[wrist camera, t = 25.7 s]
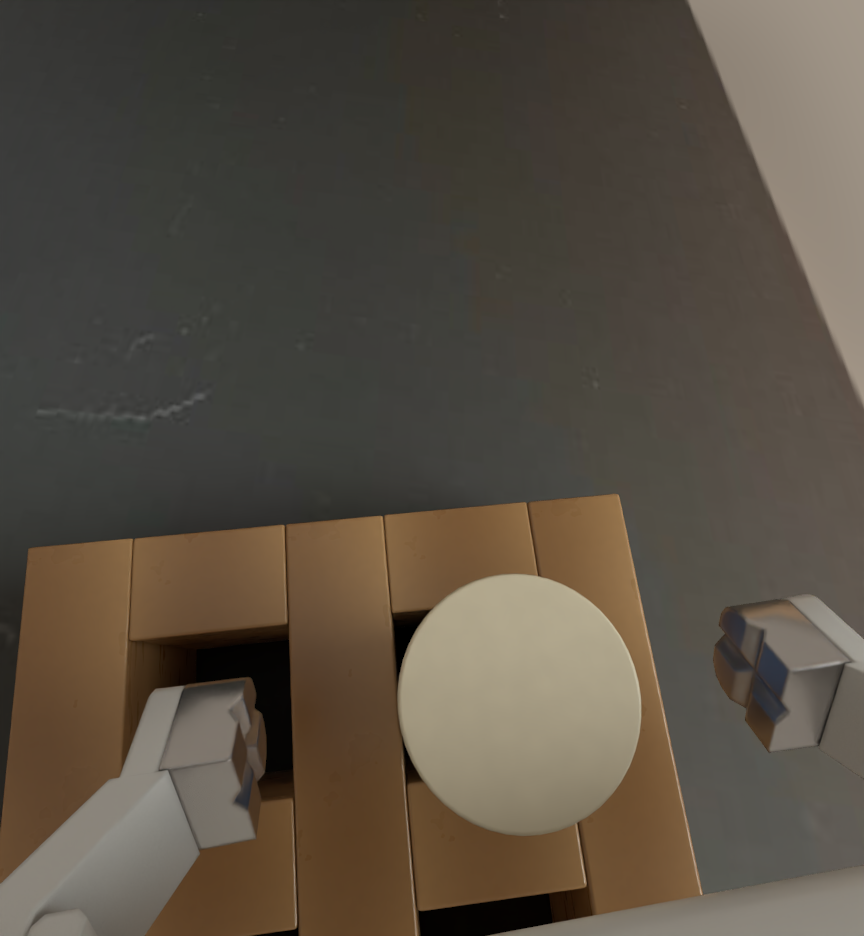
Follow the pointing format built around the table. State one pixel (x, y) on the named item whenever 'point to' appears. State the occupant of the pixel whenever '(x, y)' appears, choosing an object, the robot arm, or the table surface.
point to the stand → (332, 715)
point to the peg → (519, 704)
